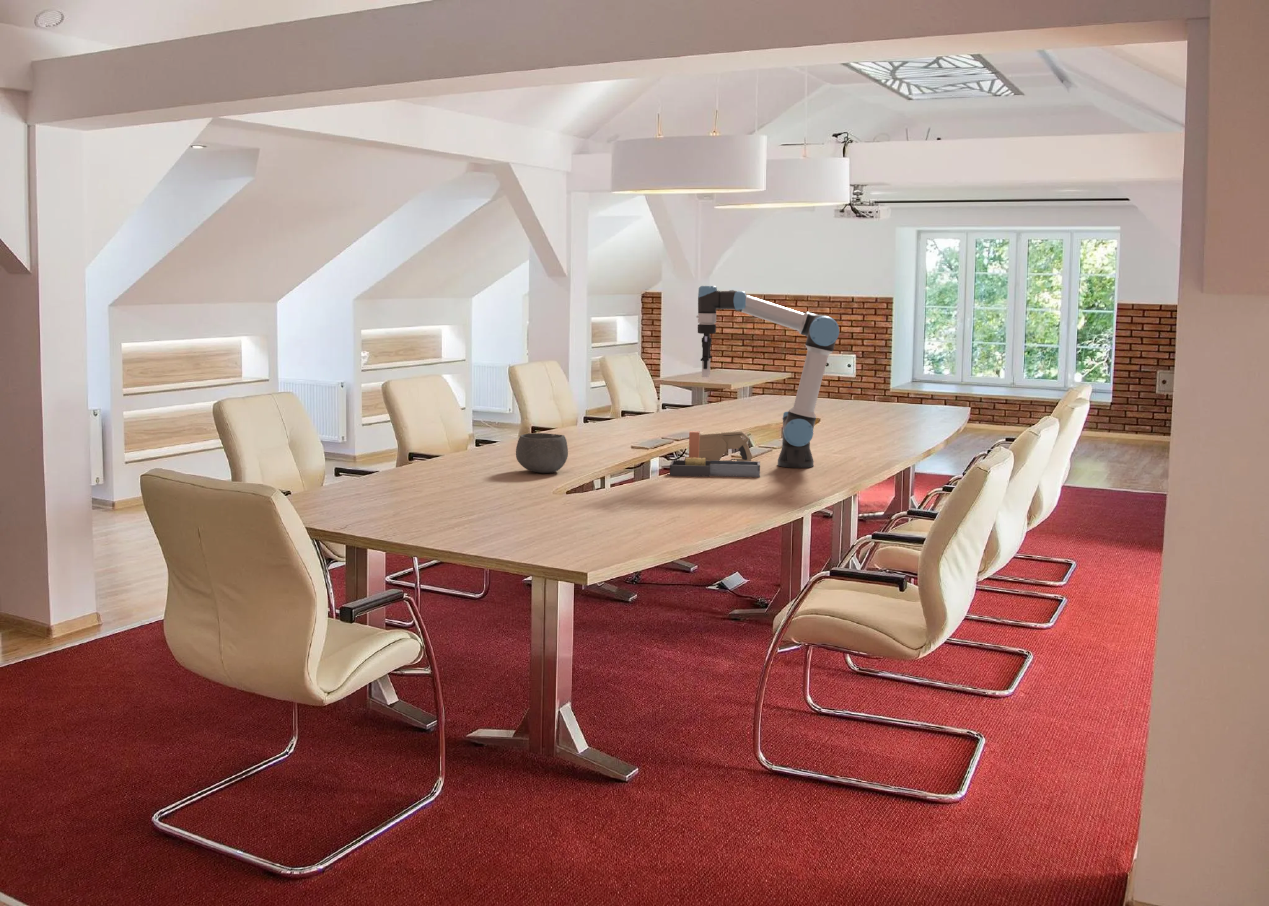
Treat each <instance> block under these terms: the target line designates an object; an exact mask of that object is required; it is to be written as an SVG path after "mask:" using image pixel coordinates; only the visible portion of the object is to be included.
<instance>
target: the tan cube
mask: <svg viewBox="0 0 1269 906" xmlns="http://www.w3.org/2000/svg"><path fill="white" fill-rule="evenodd" d="M705 463H706V458H695V466H705Z"/></svg>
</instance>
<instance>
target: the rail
mask: <svg viewBox="0 0 1269 906" xmlns="http://www.w3.org/2000/svg"><path fill="white" fill-rule="evenodd" d="M710 477H737V478H739V477H740V478H741V477H742V478H743V477H745V478H760V477H761V461H758V460H757V461H752V460H751V461H737V460H732V461H717V460H711V464H710Z"/></svg>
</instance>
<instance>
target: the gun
mask: <svg viewBox="0 0 1269 906" xmlns="http://www.w3.org/2000/svg"><path fill="white" fill-rule="evenodd" d="M742 437H743V438H744V439H743V438H742ZM749 441H750V437H749V436H748V435H747V434H746V433H744V431H742V430H737V431H736V430H735V431H721V432H715V433H700V440H699V458H706V461H711V460H717V461H752V459H753V454H752V452H751V450H750V446H749V445H748V442H749ZM737 449H738V452H740V453H739V455H740V456H741V457H740V458H731V459H722V457H723V456H724V455H725V454H726V452H727V450H734V453H736V452H737Z"/></svg>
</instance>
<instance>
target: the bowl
mask: <svg viewBox="0 0 1269 906" xmlns="http://www.w3.org/2000/svg"><path fill="white" fill-rule="evenodd" d="M568 454H569V449H568V441H567V438H566V436H565V435H564V434H556V433H555V434H554V433H545V432H544V433H541V432H538V433H537V432H534V433H524V434H520V436H519V437H518V440H517V443H516V448H515V457H516V461H517V462H518V464H519V465H520V466H522V467H523V468H524V469H526V470H527V471H530V472H533V473H538V474H552V473H555V472H557V471H560V470H561V469H562V468H563V467H564V466H565V464H566V462H567V460H568V457H569V455H568Z"/></svg>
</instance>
